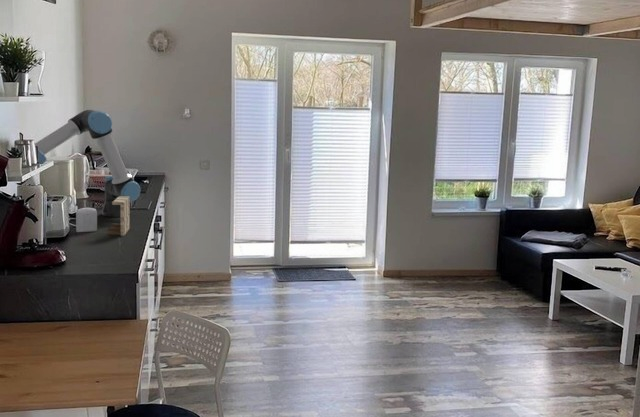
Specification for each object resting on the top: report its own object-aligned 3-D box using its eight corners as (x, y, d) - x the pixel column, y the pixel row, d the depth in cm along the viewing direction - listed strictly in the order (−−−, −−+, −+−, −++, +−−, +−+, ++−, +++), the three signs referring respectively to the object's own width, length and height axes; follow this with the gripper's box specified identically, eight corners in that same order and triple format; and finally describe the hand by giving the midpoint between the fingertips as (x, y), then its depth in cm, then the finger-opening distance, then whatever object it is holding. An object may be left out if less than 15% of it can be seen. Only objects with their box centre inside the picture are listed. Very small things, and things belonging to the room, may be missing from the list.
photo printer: (95, 229, 326) (95, 206, 324) (98, 231, 322) (97, 208, 320) (75, 231, 320) (74, 207, 318) (77, 233, 317) (76, 209, 314)
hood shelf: (113, 228, 332) (112, 196, 329) (129, 228, 333) (129, 196, 330) (106, 235, 314) (106, 202, 311) (123, 235, 315) (123, 202, 312)
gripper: (31, 191, 320) (66, 223, 325) (23, 195, 307) (59, 229, 313) (42, 181, 320) (76, 214, 325) (34, 185, 307) (70, 219, 312)
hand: (68, 221), depth 319 cm, fingers closed
